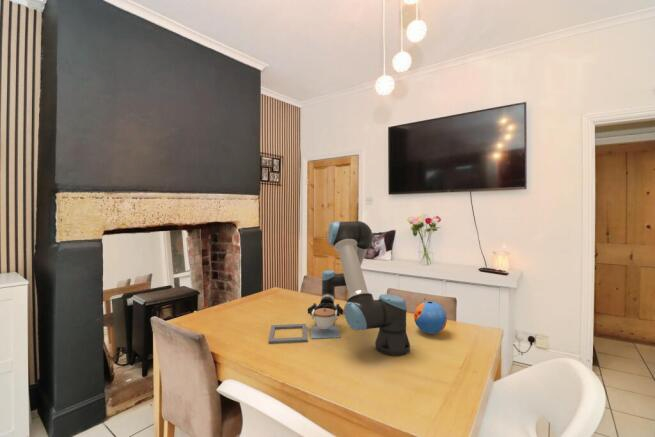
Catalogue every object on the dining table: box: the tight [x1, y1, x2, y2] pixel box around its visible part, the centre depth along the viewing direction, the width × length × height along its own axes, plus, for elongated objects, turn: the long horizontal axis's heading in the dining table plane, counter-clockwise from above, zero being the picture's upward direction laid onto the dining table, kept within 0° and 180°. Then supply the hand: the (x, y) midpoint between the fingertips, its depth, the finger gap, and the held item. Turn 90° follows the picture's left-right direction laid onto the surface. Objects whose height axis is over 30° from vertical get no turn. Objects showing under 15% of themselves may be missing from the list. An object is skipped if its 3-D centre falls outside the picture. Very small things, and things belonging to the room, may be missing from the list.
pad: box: [309, 325, 342, 340], centre depth 158 cm, size 14×14×1 cm
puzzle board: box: [267, 323, 309, 345], centre depth 157 cm, size 20×18×1 cm
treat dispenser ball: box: [413, 301, 448, 335], centre depth 158 cm, size 16×15×15 cm
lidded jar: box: [313, 308, 336, 329], centre depth 158 cm, size 11×11×9 cm
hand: (324, 316), depth 154 cm, fingers closed on lidded jar, 11 cm apart
